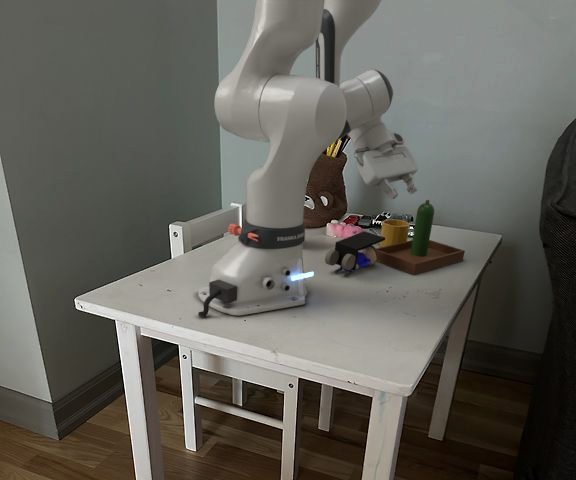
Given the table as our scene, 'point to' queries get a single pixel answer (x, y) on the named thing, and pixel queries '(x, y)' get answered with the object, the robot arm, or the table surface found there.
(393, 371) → the table surface
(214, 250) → the table surface
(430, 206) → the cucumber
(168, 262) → the table surface
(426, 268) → the tray
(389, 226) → the cup
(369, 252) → the figurine character
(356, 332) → the table surface
